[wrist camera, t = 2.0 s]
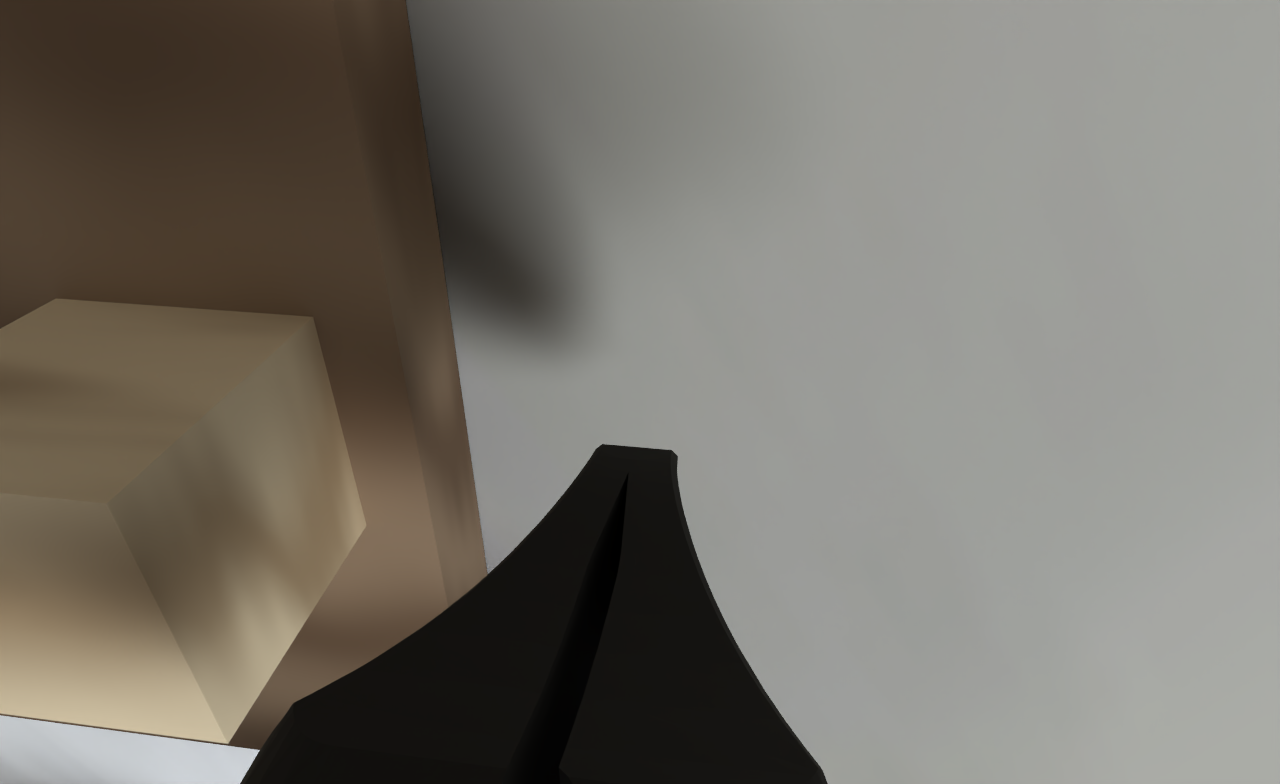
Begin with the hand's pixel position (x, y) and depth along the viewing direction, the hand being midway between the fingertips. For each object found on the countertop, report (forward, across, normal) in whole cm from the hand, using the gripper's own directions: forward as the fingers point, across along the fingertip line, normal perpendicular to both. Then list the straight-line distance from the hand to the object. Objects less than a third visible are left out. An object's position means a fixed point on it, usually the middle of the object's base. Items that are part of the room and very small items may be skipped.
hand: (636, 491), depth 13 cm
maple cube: (+1, +8, 0) cm, 8 cm away
